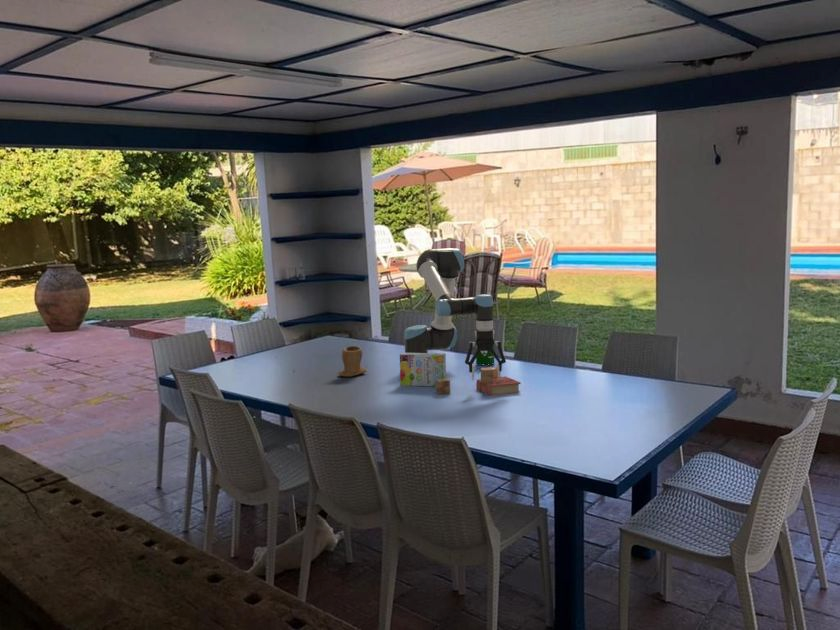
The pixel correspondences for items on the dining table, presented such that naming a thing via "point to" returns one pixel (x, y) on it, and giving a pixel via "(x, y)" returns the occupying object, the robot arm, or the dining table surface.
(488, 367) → the tan rounded glossy cylinder
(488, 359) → the milk carton
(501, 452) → the dining table surface
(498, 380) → the book
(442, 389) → the block
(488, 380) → the block
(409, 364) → the snack box
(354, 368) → the orange vase
